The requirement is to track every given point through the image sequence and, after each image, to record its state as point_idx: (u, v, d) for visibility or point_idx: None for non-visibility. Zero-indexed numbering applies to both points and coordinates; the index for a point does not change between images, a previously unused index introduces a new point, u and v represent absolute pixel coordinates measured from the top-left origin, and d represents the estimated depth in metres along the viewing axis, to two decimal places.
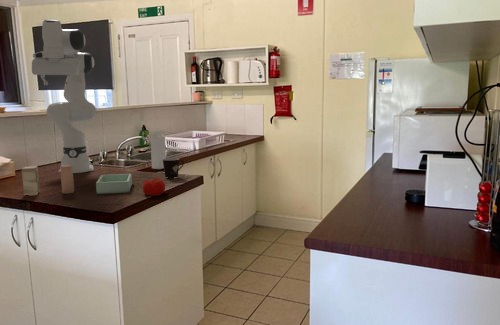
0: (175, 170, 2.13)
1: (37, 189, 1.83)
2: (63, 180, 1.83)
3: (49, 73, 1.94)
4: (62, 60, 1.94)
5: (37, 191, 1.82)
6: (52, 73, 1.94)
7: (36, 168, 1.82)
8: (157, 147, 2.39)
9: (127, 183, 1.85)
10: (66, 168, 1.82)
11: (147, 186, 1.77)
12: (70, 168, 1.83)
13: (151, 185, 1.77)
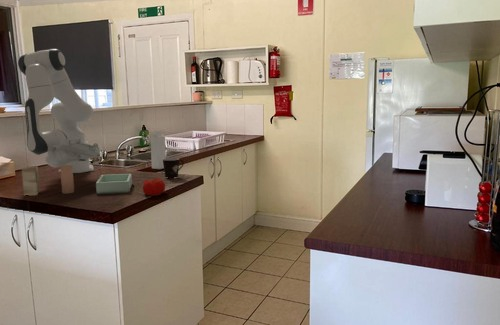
0: (175, 170, 2.13)
1: (37, 189, 1.83)
2: (63, 180, 1.83)
3: (86, 150, 1.97)
4: (66, 151, 1.95)
5: (37, 191, 1.82)
6: (83, 150, 1.96)
7: (36, 168, 1.82)
8: (157, 147, 2.39)
9: (127, 183, 1.85)
10: (66, 168, 1.82)
11: (147, 186, 1.77)
12: (70, 168, 1.83)
13: (151, 185, 1.77)
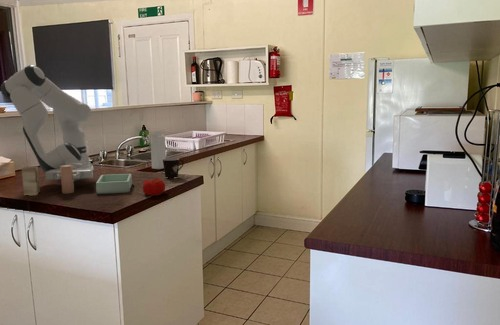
0: (175, 170, 2.13)
1: (37, 189, 1.83)
2: (63, 180, 1.83)
3: None
4: None
5: (37, 191, 1.82)
6: None
7: (36, 168, 1.82)
8: (157, 147, 2.39)
9: (127, 183, 1.85)
10: (66, 168, 1.82)
11: (147, 186, 1.77)
12: (70, 168, 1.83)
13: (151, 185, 1.77)
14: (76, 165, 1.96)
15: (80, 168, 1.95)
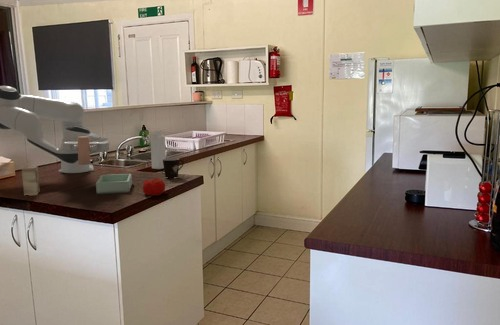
0: (175, 170, 2.13)
1: (37, 189, 1.83)
2: (80, 151, 1.81)
3: (91, 150, 1.88)
4: None
5: (37, 191, 1.82)
6: None
7: (36, 168, 1.82)
8: (157, 147, 2.39)
9: (127, 183, 1.85)
10: (83, 139, 1.81)
11: (147, 186, 1.77)
12: (87, 139, 1.82)
13: (151, 185, 1.77)
14: (93, 138, 1.94)
15: (97, 141, 1.93)
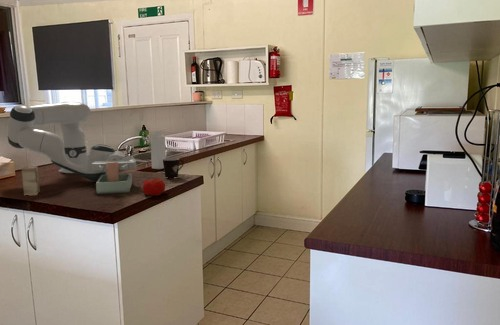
0: (175, 170, 2.13)
1: (37, 189, 1.83)
2: (109, 176, 1.86)
3: (119, 170, 1.92)
4: None
5: (37, 191, 1.82)
6: None
7: (36, 168, 1.82)
8: (157, 147, 2.39)
9: (127, 183, 1.85)
10: (112, 164, 1.86)
11: (147, 186, 1.77)
12: (116, 164, 1.87)
13: (151, 185, 1.77)
14: (119, 157, 1.98)
15: (123, 160, 1.97)
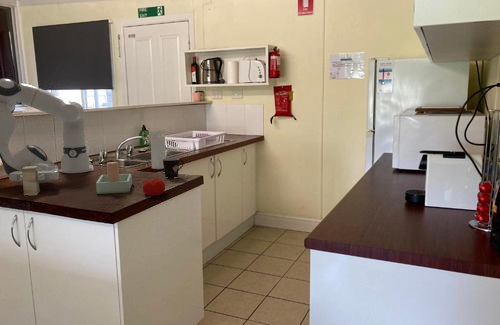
0: (175, 170, 2.13)
1: (37, 189, 1.83)
2: (110, 177, 1.86)
3: None
4: None
5: (37, 191, 1.82)
6: None
7: (36, 168, 1.82)
8: (157, 147, 2.39)
9: (127, 183, 1.85)
10: (113, 165, 1.85)
11: (147, 186, 1.77)
12: (116, 165, 1.86)
13: (151, 185, 1.77)
14: (42, 166, 1.93)
15: (46, 169, 1.92)
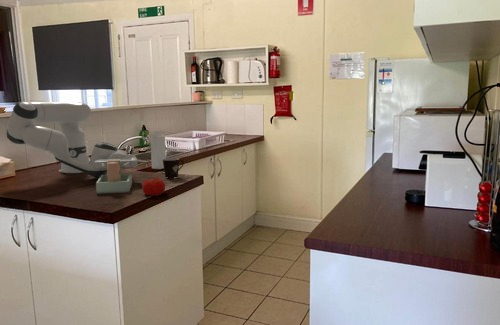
0: (175, 170, 2.13)
1: None
2: (110, 177, 1.86)
3: (121, 167, 2.00)
4: None
5: None
6: None
7: (120, 161, 1.96)
8: (157, 147, 2.39)
9: (127, 183, 1.85)
10: (113, 165, 1.85)
11: (147, 186, 1.77)
12: (116, 165, 1.86)
13: (151, 185, 1.77)
14: (121, 155, 2.06)
15: (125, 158, 2.05)
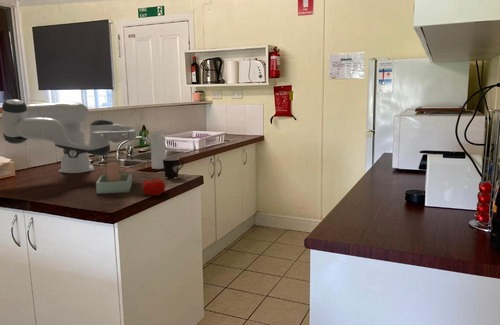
0: (175, 170, 2.13)
1: None
2: (110, 177, 1.86)
3: (119, 138, 1.99)
4: None
5: None
6: (116, 139, 1.99)
7: None
8: (157, 147, 2.39)
9: (127, 183, 1.85)
10: (113, 165, 1.85)
11: (147, 186, 1.77)
12: (116, 165, 1.86)
13: (151, 185, 1.77)
14: (119, 127, 2.05)
15: (124, 130, 2.04)
